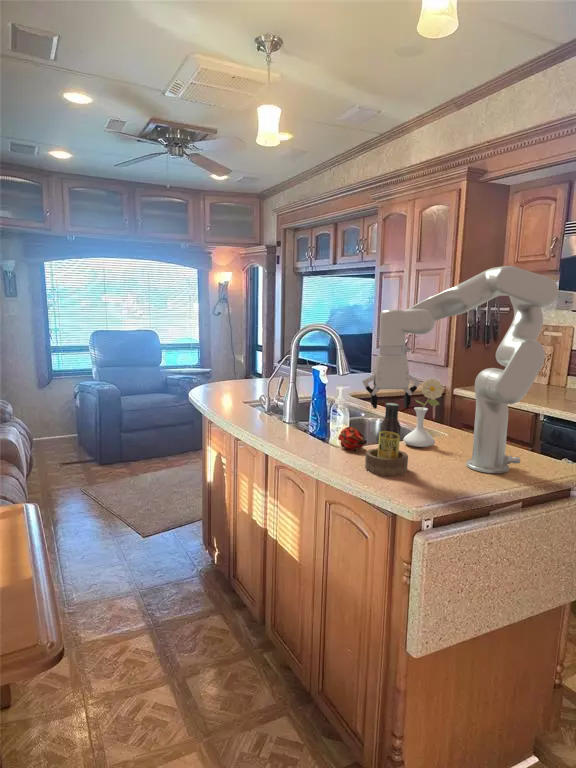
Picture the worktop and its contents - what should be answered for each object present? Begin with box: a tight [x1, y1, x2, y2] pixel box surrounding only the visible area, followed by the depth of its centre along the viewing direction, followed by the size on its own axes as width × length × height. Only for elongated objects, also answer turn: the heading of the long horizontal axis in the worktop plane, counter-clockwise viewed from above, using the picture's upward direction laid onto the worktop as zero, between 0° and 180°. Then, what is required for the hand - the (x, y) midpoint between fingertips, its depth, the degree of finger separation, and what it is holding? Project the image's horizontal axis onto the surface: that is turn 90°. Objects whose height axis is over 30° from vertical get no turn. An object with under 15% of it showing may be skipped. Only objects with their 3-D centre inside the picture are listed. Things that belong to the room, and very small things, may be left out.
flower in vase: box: [402, 377, 444, 448], centre depth 182 cm, size 13×11×25 cm
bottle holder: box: [364, 447, 409, 477], centre depth 155 cm, size 12×12×5 cm
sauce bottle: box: [377, 402, 402, 459], centre depth 153 cm, size 7×6×20 cm
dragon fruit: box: [337, 426, 368, 452], centre depth 177 cm, size 8×8×12 cm
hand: (390, 407), depth 152 cm, fingers open, 9 cm apart
